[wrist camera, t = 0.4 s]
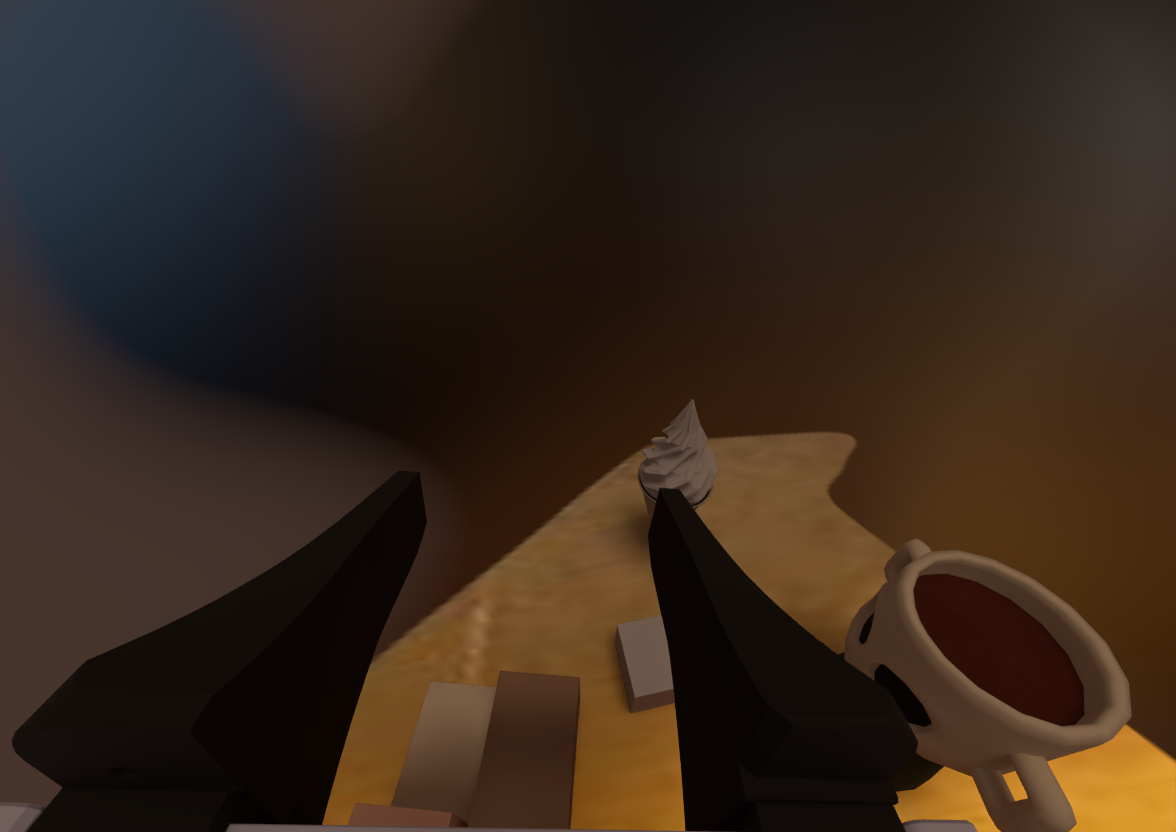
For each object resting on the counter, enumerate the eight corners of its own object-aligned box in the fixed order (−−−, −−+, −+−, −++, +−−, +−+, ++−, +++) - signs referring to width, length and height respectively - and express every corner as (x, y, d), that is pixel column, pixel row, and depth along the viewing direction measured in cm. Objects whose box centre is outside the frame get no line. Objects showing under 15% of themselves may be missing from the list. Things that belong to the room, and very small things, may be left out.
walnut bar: (566, 868, 19) (564, 864, 18) (473, 858, 20) (462, 853, 18) (579, 694, 25) (579, 677, 23) (506, 687, 25) (500, 670, 23)
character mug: (777, 621, 29) (858, 505, 21) (886, 635, 28) (1016, 521, 20) (823, 844, 21) (990, 803, 12) (978, 871, 20) (1267, 848, 12)
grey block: (694, 699, 26) (703, 681, 24) (630, 714, 25) (635, 697, 23) (671, 632, 29) (678, 612, 27) (614, 643, 28) (617, 624, 26)
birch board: (553, 1058, 16) (552, 1065, 16) (329, 1029, 17) (318, 1035, 16) (579, 699, 25) (579, 694, 25) (434, 686, 26) (430, 681, 25)
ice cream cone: (627, 571, 32) (647, 423, 22) (630, 515, 36) (648, 368, 26) (694, 578, 31) (746, 431, 22) (690, 521, 35) (731, 374, 25)
